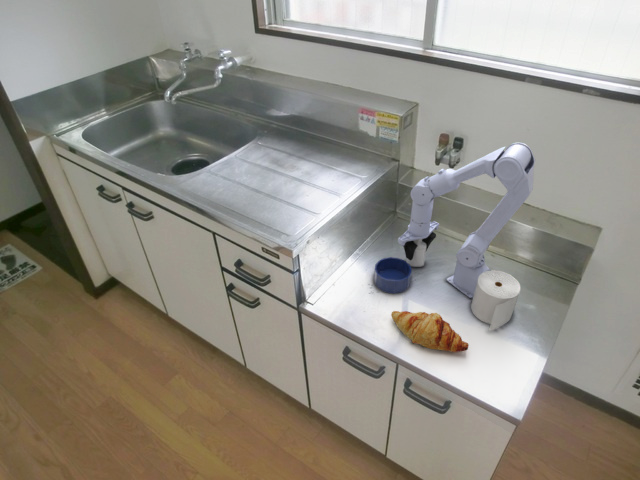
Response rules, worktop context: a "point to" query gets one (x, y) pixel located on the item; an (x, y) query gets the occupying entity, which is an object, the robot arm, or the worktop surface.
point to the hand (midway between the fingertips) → (415, 254)
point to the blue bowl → (392, 275)
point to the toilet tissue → (495, 298)
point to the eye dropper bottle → (418, 254)
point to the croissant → (429, 331)
